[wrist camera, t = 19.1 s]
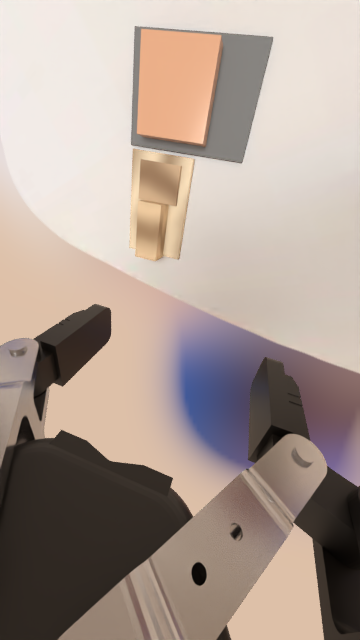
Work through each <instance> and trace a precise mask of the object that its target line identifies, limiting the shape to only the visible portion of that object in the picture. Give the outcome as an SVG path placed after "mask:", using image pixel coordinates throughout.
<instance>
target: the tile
mask: <svg viewBox="0 0 360 640" xmlns="http://www.w3.org/2000/svg"><path fill="white" fill-rule="evenodd" d="M222 50H223V42H222V36H221V35H214V34H201V33H189V32H176V31H163V30H150V29H141V46H140V70H139V95H138V119H137V134H138V135H140V136H142V137H146V138H152V139H158V140H165V141H171V142H177V143H184V144H190V145H196V146H203V147H206V142H207V136H208V131H209V125H210V119H211V113H212V108H213V102H214V96H215V90H216V85H217V79H218V73H219V67H220V62H221V56H222Z"/></svg>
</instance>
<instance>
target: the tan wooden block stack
mask: <svg viewBox="0 0 360 640" xmlns="http://www.w3.org/2000/svg"><path fill="white" fill-rule="evenodd" d="M181 170H182V166H178V165H172V164H166V163H161V162H155V161H149V160H143V159H141V161H140V181H139V199H143V200H139V201H138V212H137V232H136V252H135V256H136V257H140V258H144V259H148V260H152V261H157V260H158V259H160V258H161V257H162V256H163V251H164V242H165V234H166V225H167V216H168V208H169V205H172V206H177V200H178V192H179V185H180V177H181Z"/></svg>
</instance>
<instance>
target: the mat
mask: <svg viewBox="0 0 360 640" xmlns="http://www.w3.org/2000/svg"><path fill="white" fill-rule="evenodd" d="M141 29H150V30H163V31H176V32H189V33H201V34H214V35H221V36H222V42H223V50H222V56H221V62H220V67H219V73H218V79H217V85H216V90H215V96H214V102H213V108H212V113H211V119H210V125H209V131H208V136H207V142H206V147H203V146H196V145H190V144H184V143H177V142H171V141H165V140H158V139H152V138H146V137H142V136H140V135H138V134H137V119H138V95H139V70H140V46H141ZM272 41H273V37H267V36H254V35H241V34H228V33H215V32H202V31H189V30H176V29H163V28H150V27H137V26H135V36H134V68H133V100H132V132H131V144H132V145H136V146H142V147H148V148H154V149H160V150H167V151H173V152H179V153H185V154H191V155H197V156H203V157H209V158H215V159H221V160H227V161H233V162H239V163H242V161H243V157H244V153H245V149H246V145H247V141H248V137H249V133H250V129H251V125H252V121H253V117H254V113H255V109H256V105H257V101H258V97H259V93H260V89H261V85H262V81H263V77H264V73H265V69H266V65H267V61H268V57H269V53H270V49H271V45H272Z"/></svg>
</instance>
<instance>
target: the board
mask: <svg viewBox="0 0 360 640" xmlns="http://www.w3.org/2000/svg"><path fill="white" fill-rule="evenodd" d="M141 159H143V160H149V161H155V162H161V163H166V164H172V165H178V166H182V170H181V177H180V185H179V192H178V200H177V206H172V205H169V208H168V216H167V225H166V234H165V242H164V251H163V256H166V257H170V258H174V259H179V256H180V250H181V244H182V237H183V231H184V224H185V218H186V212H187V205H188V199H189V193H190V186H191V180H192V173H193V167H194V161H195V160H194V159H191V158H186V157H180V156H174V155H168V154H162V153H156V152H150V151H144V150H138V149H133V160H132V189H131V217H130V246H129V248H133V249H136V232H137V212H138V201H139V200H143V199H139V181H140V161H141Z"/></svg>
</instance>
